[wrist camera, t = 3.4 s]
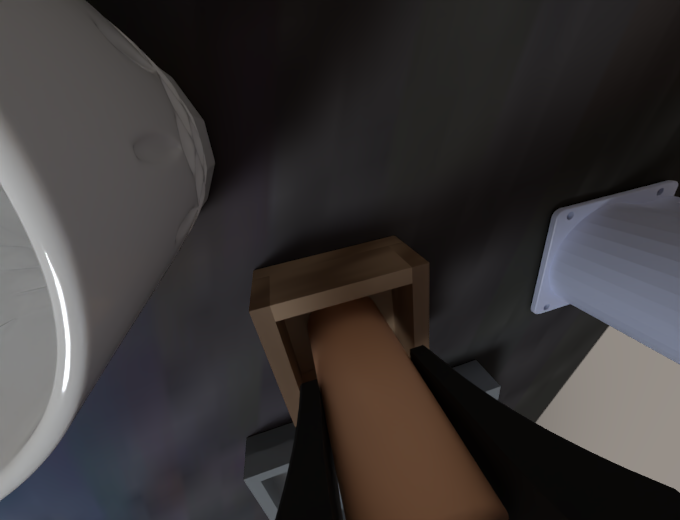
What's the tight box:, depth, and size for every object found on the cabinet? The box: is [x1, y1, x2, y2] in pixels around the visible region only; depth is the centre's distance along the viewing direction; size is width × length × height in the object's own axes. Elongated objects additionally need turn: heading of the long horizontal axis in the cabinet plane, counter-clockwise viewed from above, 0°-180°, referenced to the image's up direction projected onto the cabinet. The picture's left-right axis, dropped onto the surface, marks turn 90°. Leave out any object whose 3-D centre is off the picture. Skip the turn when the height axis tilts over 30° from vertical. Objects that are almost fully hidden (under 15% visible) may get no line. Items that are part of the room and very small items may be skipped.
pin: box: [307, 296, 509, 520], centre depth 10 cm, size 4×4×9 cm
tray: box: [244, 360, 501, 520], centre depth 21 cm, size 18×13×2 cm
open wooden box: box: [249, 235, 429, 427], centre depth 14 cm, size 8×8×4 cm
